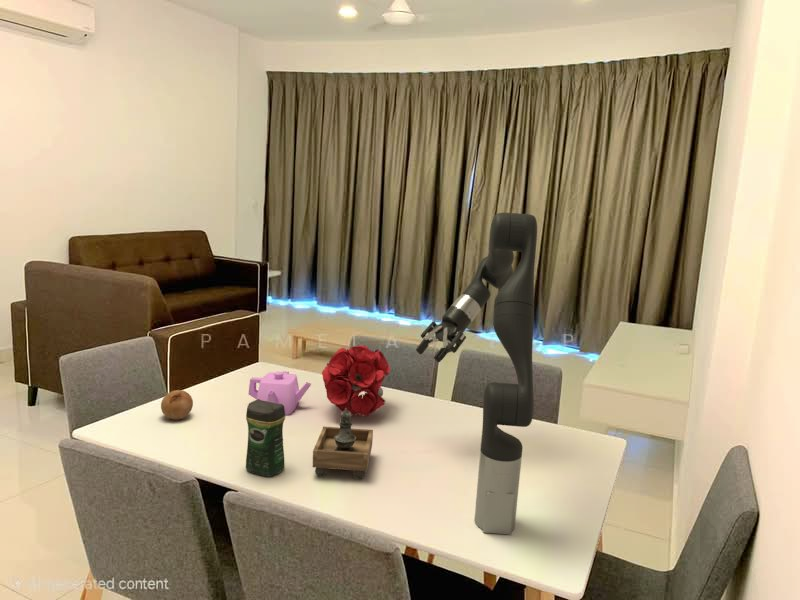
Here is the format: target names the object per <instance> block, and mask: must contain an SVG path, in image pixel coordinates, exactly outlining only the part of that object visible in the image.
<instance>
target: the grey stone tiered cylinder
mask: <svg viewBox="0 0 800 600" xmlns="http://www.w3.org/2000/svg"><path fill="white" fill-rule="evenodd" d="M338 425H339V426H338V427H339V428H340V432H339V434H337V435H335V436H334V439H335V442H336V445H337V446H338V447H336V448H335V451H347V452H354V448H353V447H351V446H352V445H353V444H354V442H355V440H356V437H355V436H354V435H352V434H351V428H352V426H353V422H352V415H351V412H349V411H347V408H345V411H343V412H342V411H341V413H340V421H339V422H338Z"/></svg>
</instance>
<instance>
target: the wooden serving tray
mask: <svg viewBox="0 0 800 600" xmlns="http://www.w3.org/2000/svg"><path fill="white" fill-rule="evenodd" d="M320 431H321V432H320V434H319V436H318V438H317V440H316V443H315V445H314V448H313V450H312V468H314V469H315V470H314V472H315V474H316V476H317V477H320V476H322V477H325V475H326V474H327V472H328V470H329V469H330V470H331V469H332V470H345V471H346V470H347V471H353V476H354V478H355V479H357V480H362V479H364V478H365V477H366V474H367V473H366V472H367V471H368V468H369V462H370V458H371V454H372V453H371V452H372V448H373V440H374V439H373V438H374V435H373V434H374V429H369V428H368V429H366V428H353V427H351V434H352V435H354V436H355V437H356V440H355V442H354V444H353V445H352V446H351V447H353V448H354V452H347V451H335V448H336V447H338V446H337V445H336V442H335V439H334V436H335V435H337V434H339V432H340V427H339V426H338V427H336V426H335V427H334V426H323V427H322V429H321V430H320Z"/></svg>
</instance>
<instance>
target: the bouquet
mask: <svg viewBox="0 0 800 600" xmlns="http://www.w3.org/2000/svg"><path fill="white" fill-rule="evenodd" d="M390 372H391V367H390V365H389V363H388V361H387V358H386V357H385V355H384V353H383V352H382V351H380V349H376V350H375V351H374V350H373V351H372V350H371V349H369V347H368V346H366V345H365V344H364V345H356V346H352V347H350V348H349V349H348V348H345V347H341V348H339V349H338V350H336V352H335V353H334V354H333V355H332V357H331V358H330V360H329V362H327V363H326V366H325V367H324V369H322V372H321V375H322V381H323V384H324V388H325V392H326V398H327V400H328V401H329V403H331V404H333V405H335V407H336V408H337V409H338V410H340V411H341V412H343V411H345V408H347V411H349V412H351V416H353V417H354V416H356V415H359V416H365V417H368V416H369V415H371V414H373V413H374V412H375V411H377V410H379V409H380V408H382V406H385V405H386V404H385V403H386V400H385V399H384V397H383V395H384V390H383V388H382V384H383V381H384V379H385V377H386V376H389V373H390ZM362 392H364V394H363V393H362ZM361 393H362V394H361Z"/></svg>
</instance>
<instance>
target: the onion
mask: <svg viewBox="0 0 800 600" xmlns="http://www.w3.org/2000/svg"><path fill="white" fill-rule="evenodd" d="M193 406H194V401H193V398H192V396H191V394H190V393H189V392H187V391H185V390H183V389H182V390H181V389H177V390H172V391H170V392H168V393H167V394H165V396H164V397H163V398H162V400H161V402H160V410H161V412H162V414H163V416H164V418H166V419H169V420H172V421H173V420H174V421H176V420H183V419H184V418H186V417H188V415H189V414H190V413H191V411H192V410H193Z"/></svg>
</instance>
